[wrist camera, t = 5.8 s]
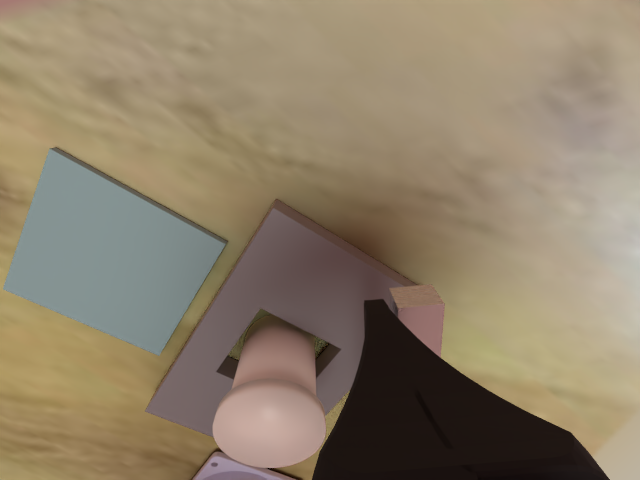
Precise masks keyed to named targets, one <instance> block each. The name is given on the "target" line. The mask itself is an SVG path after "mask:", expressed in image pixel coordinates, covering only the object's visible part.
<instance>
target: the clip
mask: <svg viewBox="0 0 640 480" xmlns="http://www.w3.org/2000/svg"><path fill="white" fill-rule="evenodd" d="M444 305H445V304H444V302H443V301H442V299H441V298H440V296H439V295H438V293H437V292H436V290H435V289H434V287H433V286H432V284H429V285H418V286H408V287H397V288H389V308H390V310H391V311H392V312H393V313H394V314H395V315H396V316H397V317H398V318H399V320H400V321H401V322H402V323H403V324H404V325H405V326H406V327H407V328H408V329H409V330H410V331H411V332H412V333H413V334H414V335H415V336H416V337H417V338H418V339H419V340H421V341H422V342H423V343H424V344H425V345H426V346H427V347H428V348H430V349H431V350H432V351H433V352H434V353H435V354H437V355H438V356H439V357H441V344H442V331H443V318H444Z"/></svg>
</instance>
